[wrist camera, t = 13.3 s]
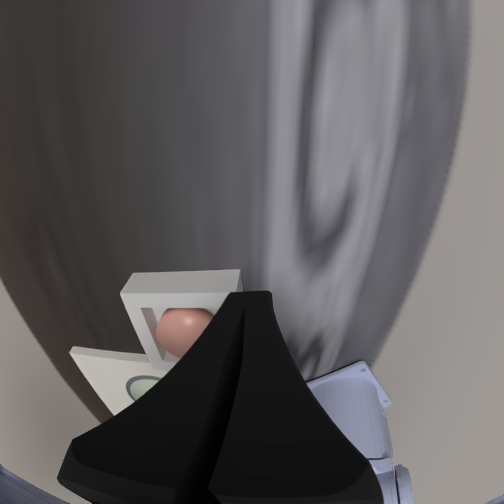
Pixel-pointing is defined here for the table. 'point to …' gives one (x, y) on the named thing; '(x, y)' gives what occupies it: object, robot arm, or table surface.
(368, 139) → the table surface
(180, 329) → the button
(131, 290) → the button box
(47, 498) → the robot arm
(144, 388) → the picture board
